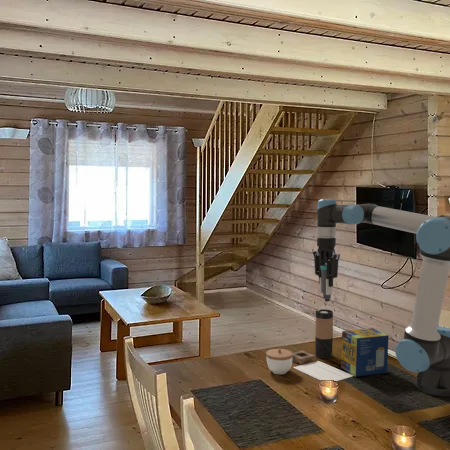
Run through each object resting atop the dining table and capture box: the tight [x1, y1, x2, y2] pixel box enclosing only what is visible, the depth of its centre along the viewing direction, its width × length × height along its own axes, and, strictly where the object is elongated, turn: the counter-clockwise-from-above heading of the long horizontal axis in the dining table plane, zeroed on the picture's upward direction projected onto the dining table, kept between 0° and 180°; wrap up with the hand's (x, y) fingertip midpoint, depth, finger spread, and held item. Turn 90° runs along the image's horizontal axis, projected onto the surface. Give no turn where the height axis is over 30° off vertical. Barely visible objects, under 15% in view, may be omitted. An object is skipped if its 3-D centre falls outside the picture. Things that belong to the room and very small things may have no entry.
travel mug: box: [314, 308, 334, 359], centre depth 216 cm, size 8×8×20 cm
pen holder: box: [292, 350, 316, 366], centre depth 211 cm, size 8×8×2 cm
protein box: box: [340, 328, 389, 377], centre depth 198 cm, size 10×15×16 cm
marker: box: [321, 265, 332, 302], centre depth 202 cm, size 3×3×15 cm
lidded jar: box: [265, 348, 294, 375], centre depth 198 cm, size 11×11×9 cm
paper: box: [293, 360, 354, 383], centre depth 197 cm, size 20×14×1 cm
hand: (325, 293), depth 202 cm, fingers closed on marker, 3 cm apart
